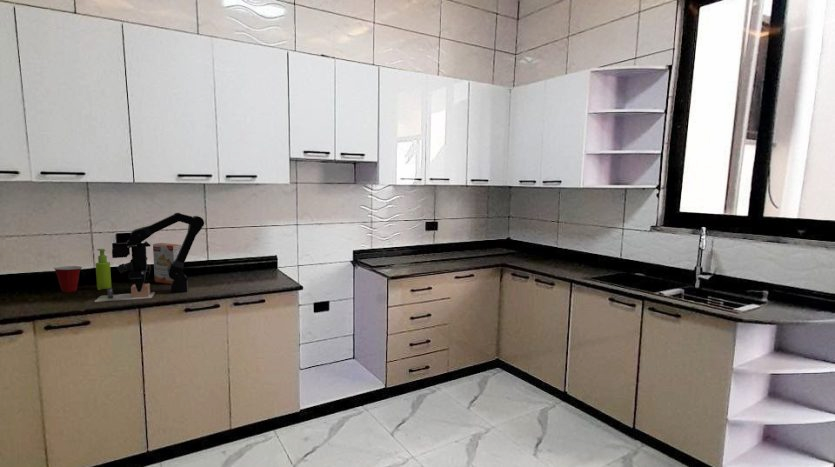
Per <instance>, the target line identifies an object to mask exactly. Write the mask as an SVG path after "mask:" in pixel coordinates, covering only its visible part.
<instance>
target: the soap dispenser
mask: <svg viewBox="0 0 835 467" xmlns="http://www.w3.org/2000/svg"><path fill="white" fill-rule="evenodd" d="M96 250H97V251H99V255H98V257H97V259H98V262H96V263H95V275H96V276H95V277H96V290H97V291H101V290H107V288H112V277H111V276H112V275H111V273H112V272H111V262H110V261H108V259H107V258H108V257H107V255H105V251H106V249H105V248H97V249H96Z"/></svg>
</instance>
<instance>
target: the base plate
mask: <svg viewBox="0 0 835 467" xmlns="http://www.w3.org/2000/svg"><path fill="white" fill-rule="evenodd" d="M155 293H156V292H155V291H152V292H151V291H150V295H149V296H148V297H137V298H132V296H131V293H122V294H120V293H119V294H113V298H108V294H107V295H106V294H105V295H100V296H99V297H97V299H95V300H94V303H99V302H101V303H102V302H113V301H125V300H141V299H152V298H153V296H154V295H155Z"/></svg>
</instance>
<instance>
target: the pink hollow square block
mask: <svg viewBox="0 0 835 467" xmlns="http://www.w3.org/2000/svg"><path fill="white" fill-rule="evenodd" d="M150 292H151V283H149V282H148V283H145V284H143V286H142V289H141V291H140V292H138V291H137V288H136V286H135V283H134V284H132V285H131V287H130V294H131V296H132V298H137V297H148V296H149V295H150Z"/></svg>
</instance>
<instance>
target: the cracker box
mask: <svg viewBox="0 0 835 467" xmlns="http://www.w3.org/2000/svg"><path fill="white" fill-rule="evenodd" d="M181 246H182V244H178V243H167V242H158V243H153V244H152V254H153V270H154V271H153V272H154V282H155V283H162V284H166V285H167V284H168V285H172V282H173V281H174V280H173V279H171V278H170V277H169V275H168V270H167V268H168V267H169V264H170V261H171V262H174V261H175V259H176V258H177V255H178V253H179V251H180V249H181Z"/></svg>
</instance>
